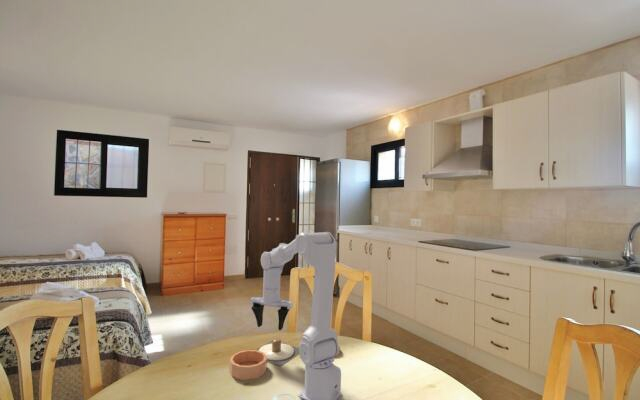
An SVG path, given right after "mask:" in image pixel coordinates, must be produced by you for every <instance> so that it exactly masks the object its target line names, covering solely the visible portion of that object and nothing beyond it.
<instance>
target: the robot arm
mask: <svg viewBox="0 0 640 400" xmlns="http://www.w3.org/2000/svg"><path fill="white" fill-rule="evenodd" d="M336 250H337V240H336V239H335V238H334V235H333V234H332V233H331V232H330V231H324V232H300V233H299V234H296V235H295V238H294V239H293V240H292V241H291V242H290V243H285V242H281V243H279V244H278V246H277V247H275V248H272V249H271V251H263V253H261V257H260V265H261V267H262V270H263V277H262V279H263V282H262V297H256V296H253V297H251V298H250V305H251V310H252V312H253V314H254V316H255V317H254V318H255V320H256V321H255V322H256V325H257V327H258V328H260V327H262V326H263V320H264V319H263V317H264V309H265V306H266V307H267V306H268V307H274V308H279V309H277V316H278V327H277V328H278V331H282V329H283V328H284V324H285V321H286V318H287V315H288V313H289V311H290V310H292V309H293V301H288V300H284V299H281V278H282V277H281V275H282V273H283V269H284V266H285V264H286V263H288V262H290V261H291V260H292V259H293V258H294V255H296V254H298V253H299V255H300V256H301V257H302V259H303V260H304V261H305V262H306V263H307V264H308V265H310V266H312V267H313V268H314V275H313V290H312V302H311V314H310V325H309V326H308V327H307V328H306V329H305V331H304V332H303V333H302V335H301V341H300V343H299V346H298V348H299V354H298V356H299V358H300V361H302V363H303V364H304V389H303V390H301V392H299V393H298V394H297V397H298V398H300V399H302V400H338V399H339V398H340V396H341V395H342V391H341V390H342V389H341V388H342V370H341V368H340V367H339V366H337V365H335V364H334V363H333V362H335V357H337V356H338V355H337V354H338V351H339V347H340V345H339V342H338V341H339V340H338V332H337V331H336V329H334V328H333V327H331V323H332V321H331V320H332V310H333V309H332V308H333V296H334V285H335V274H336V271H335V270H336V252H337V251H336ZM338 345H339V346H338Z"/></svg>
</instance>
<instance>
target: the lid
mask: <svg viewBox="0 0 640 400" xmlns="http://www.w3.org/2000/svg"><path fill="white" fill-rule="evenodd" d="M271 341H272V344H267V343H266V344H267V345H265V344H263V345H262V346H260V347H261V348H260V347H259V348H260V349H259V351H261V352H264V353H265V355H266V356H267V360H270V361H280V360H285V359H288V358H290V357H291V356H292V355H293V354H294V349H293V348H292V347H291V346H292V345H289V344H287V343H283V342H282V339H281V338H273V339H272V340H271Z"/></svg>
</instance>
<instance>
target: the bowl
mask: <svg viewBox="0 0 640 400" xmlns="http://www.w3.org/2000/svg"><path fill="white" fill-rule="evenodd" d="M267 366H268V362H267V356H266V355H265V353H264V352H261V351H258V350H256V349H246V350H240V351H238V352H236V353H234V354H232V355H231V357H230V358H229V366H228V367H229V369H228V370H229V374H230V376H231V377H232V378H234V379H237V380H242V381H247V380H248V381H249V380H254V379H257V378H260V377H262V376H263V375H264V374H265V373H266V371H267Z"/></svg>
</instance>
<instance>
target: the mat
mask: <svg viewBox="0 0 640 400" xmlns="http://www.w3.org/2000/svg"><path fill="white" fill-rule="evenodd" d="M267 344H272V340H270V341H269V342H267V343H265V344H264V345H267ZM290 346H291V347H292V348H293V349H294V354H293V355H292V356H291V357H290V358H288V359H285V360H280V361H270V360H267V364H272V365H273V366H277V367H280V368H281V367H283V366H285V364H287V363H288V362H290V361H291V360H292V359H294V358H296V357H297V356H299V347H296V346H293V345H290ZM261 347H262V346H260V347H258V348H256V349H255V350H258V351H259V349H260V348H261Z"/></svg>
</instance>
